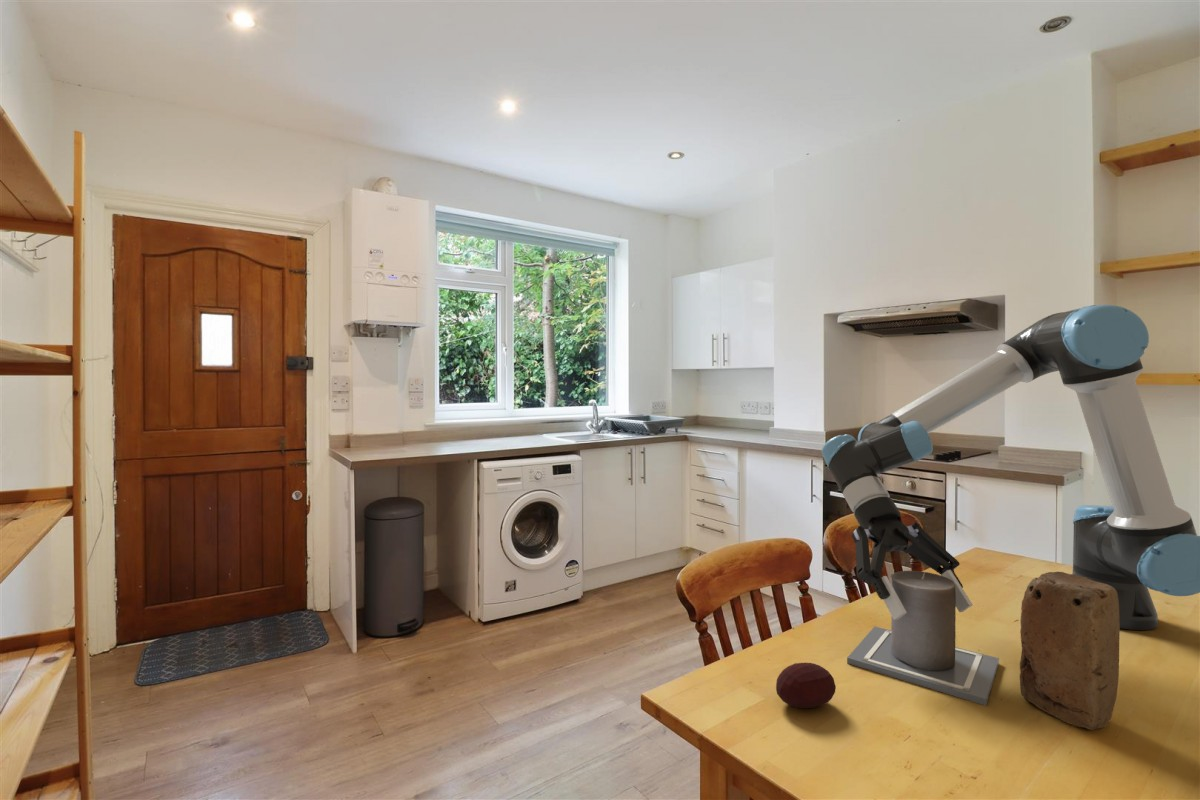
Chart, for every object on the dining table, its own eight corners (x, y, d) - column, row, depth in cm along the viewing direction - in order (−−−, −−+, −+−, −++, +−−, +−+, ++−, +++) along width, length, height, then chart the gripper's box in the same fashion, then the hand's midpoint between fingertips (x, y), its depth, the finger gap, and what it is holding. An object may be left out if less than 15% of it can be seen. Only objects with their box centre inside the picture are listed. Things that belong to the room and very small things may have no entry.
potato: (845, 715, 83) (846, 674, 83) (788, 721, 82) (788, 680, 82) (817, 688, 91) (817, 651, 91) (764, 693, 89) (764, 655, 89)
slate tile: (998, 663, 99) (998, 657, 99) (985, 705, 86) (986, 698, 86) (874, 631, 112) (874, 625, 112) (847, 663, 99) (847, 656, 99)
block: (1123, 726, 81) (1127, 586, 81) (1094, 739, 78) (1098, 593, 78) (1037, 688, 91) (1041, 563, 91) (1009, 699, 88) (1012, 570, 87)
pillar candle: (947, 649, 102) (948, 566, 102) (961, 676, 93) (962, 583, 93) (886, 642, 105) (887, 560, 105) (895, 666, 96) (895, 577, 96)
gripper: (914, 512, 117) (978, 614, 103) (807, 519, 110) (859, 629, 96) (936, 491, 112) (1006, 595, 98) (825, 497, 105) (883, 610, 91)
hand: (934, 612), depth 97 cm, fingers open, 13 cm apart
